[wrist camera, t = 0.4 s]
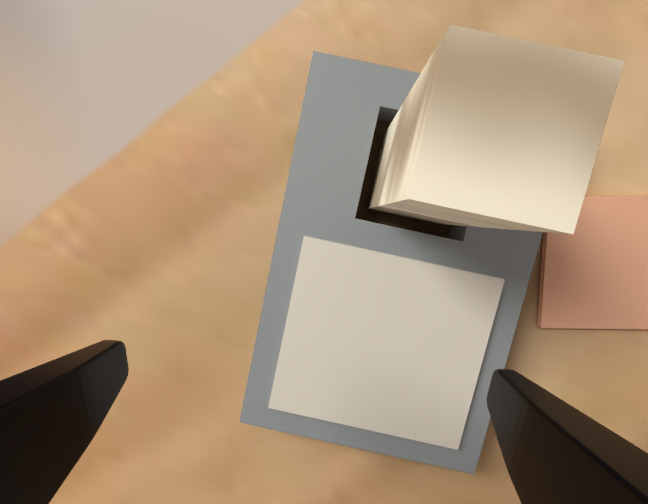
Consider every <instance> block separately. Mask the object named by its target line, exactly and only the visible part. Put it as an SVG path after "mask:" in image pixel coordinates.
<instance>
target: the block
mask: <svg viewBox="0 0 648 504" xmlns="http://www.w3.org/2000/svg"><path fill="white" fill-rule="evenodd" d="M623 64H624V60H619V59H614V58H609V57H605V56H600V55H595V54H590V53H585V52H581V51H576V50H571V49H566V48H562V47H557V46H552V45H547V44H542V43H538V42H533V41H528V40H523V39H518V38H514V37H509V36H504V35H499V34H495V33H490V32H485V31H480V30H475V29H471V28H466V27H461V26H456V25H451V24H450V25H449V27H448V29H447V30H446V32H445V34H444V35H443V37H442V39H441V40H440V42H439V44H438V45H437V47H436V49H435V50H434V52H433V54H432V55H431V57H430V59H429V60H428V62H427V64H426V65H425V67H424V69H423V70H422V72H421V74H420V75H419V77H418V79H417V80H416V82H415V84H414V85H413V87H412V89H411V90H410V92H409V94H408V95H407V97H406V99H405V100H404V102H403V104H402V105H401V107H400V109H399V111H398V112H397V114H396V116H395V117H394V119H393V121H392V122H391V124H390V126H389V127H388V129H387V131H386V132H385V134H384V137H383V142H382V146H381V150H380V155H379V159H378V164H377V168H376V172H375V177H374V181H373V186H372V190H371V195H370V199H369V203H368V208H367V209H371V210H376V211H381V212H385V213H390V214H395V215H399V216H404V217H408V218H413V219H418V220H422V221H427V222H432V223H436V224H444V225H457V226H470V227H484V228H497V229H510V230H523V231H536V232H549V233H562V234H574V231H575V227H576V224H577V220H578V217H579V214H580V210H581V207H582V203H583V200H584V197H585V193H586V190H587V186H588V183H589V180H590V176H591V173H592V169H593V166H594V163H595V159H596V156H597V152H598V149H599V146H600V142H601V139H602V135H603V132H604V129H605V125H606V122H607V118H608V115H609V112H610V108H611V105H612V101H613V98H614V95H615V91H616V88H617V84H618V81H619V78H620V74H621V71H622V67H623Z"/></svg>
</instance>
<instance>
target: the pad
mask: <svg viewBox="0 0 648 504" xmlns="http://www.w3.org/2000/svg"><path fill="white" fill-rule="evenodd" d="M537 326H538V327H540V328H577V329H648V196H585V197H584V200H583V203H582V207H581V210H580V214H579V217H578V220H577V224H576V227H575V231H574V234H562V233H549V232H543V244H542V259H541V274H540V289H539V304H538V319H537Z"/></svg>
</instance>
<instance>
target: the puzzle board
mask: <svg viewBox="0 0 648 504" xmlns="http://www.w3.org/2000/svg"><path fill="white" fill-rule="evenodd" d="M420 74H421V73H416V72H411V71H407V70H402V69H397V68H392V67H388V66H383V65H378V64H373V63H369V62H364V61H359V60H354V59H350V58H345V57H340V56H335V55H331V54H326V53H321V52H316V51H313V56H312V61H311V66H310V71H309V76H308V81H307V86H306V91H305V96H304V101H303V106H302V111H301V116H300V121H299V126H298V131H297V136H296V141H295V146H294V151H293V156H292V161H291V166H290V171H289V176H288V181H287V186H286V191H285V196H284V201H283V206H282V211H281V216H280V221H279V226H278V231H277V236H276V241H275V246H274V252H273V257H272V262H271V267H270V272H269V277H268V282H267V287H266V292H265V297H264V302H263V307H262V312H261V317H260V322H259V327H258V332H257V337H256V342H255V347H254V352H253V357H252V362H251V367H250V372H249V377H248V382H247V387H246V392H245V397H244V402H243V407H242V412H241V417H240V423H245V424H250V425H254V426H259V427H263V428H268V429H272V430H277V431H281V432H286V433H290V434H295V435H299V436H304V437H308V438H313V439H317V440H322V441H326V442H331V443H335V444H340V445H344V446H349V447H353V448H358V449H362V450H367V451H371V452H376V453H380V454H385V455H389V456H394V457H398V458H403V459H407V460H412V461H416V462H421V463H425V464H430V465H434V466H439V467H443V468H448V469H452V470H457V471H461V472H466V473H470V474H475V471H476V467H477V463H478V460H479V456H480V453H481V449H482V446H483V442H484V439H485V435H486V432H487V428H488V425H489V421H490V418H491V417H490V414H489V411H488V407H487V394H488V390H489V386H490V382H491V378H492V374H493V372H494V370H496V369H504V368H505V365H506V361H507V358H508V354H509V351H510V347H511V344H512V340H513V337H514V333H515V329H516V326H517V322H518V319H519V315H520V312H521V308H522V305H523V301H524V298H525V294H526V291H527V287H528V284H529V280H530V277H531V273H532V270H533V266H534V262H535V259H536V255H537V252H538V248H539V245H540V241H541V238H542V234H543V232H536V231H523V230H510V229H497V228H484V227H470V226H457V225H452V226H451V230H450V234H449V238H444V237H439V236H435V235H430V234H426V233H421V232H416V231H412V230H407V229H402V228H398V227H393V226H388V225H384V224H379V223H374V222H370V221H365V220H361V219H356V218H355V216H356V212H357V207H358V203H359V198H360V194H361V189H362V185H363V180H364V176H365V171H366V167H367V163H368V158H369V154H370V149H371V145H372V140H373V136H374V131H375V127H376V122H377V120H380V121H385V122H390V123H391V122H392V121H393V119H394V117H395V116H396V114H397V112H398V111H399V109H400V107H401V105H402V104H403V102H404V100H405V99H406V97H407V95H408V94H409V92H410V90H411V89H412V87H413V85H414V84H415V82H416V80H417V79H418V77H419V75H420Z"/></svg>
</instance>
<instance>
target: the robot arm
mask: <svg viewBox="0 0 648 504" xmlns="http://www.w3.org/2000/svg"><path fill="white" fill-rule="evenodd" d="M127 376H128V362H127V355H126V349H125V345H124V343H123V342H121V341H115V340H103V341H101V342H98V343H96V344H93V345H90V346H88V347H85V348H83V349H80V350H78V351H75V352H73V353H70V354H67V355H65V356H62V357H60V358H57V359H55V360H52V361H49V362H47V363H44V364H42V365H39V366H37V367H34V368H32V369H29V370H26V371H24V372H21V373H19V374H16V375H14V376H11V377H8V378H6V379H3V380H1V381H0V504H49V502H50V501H51V499H52V498H53V496H54V495H55V494H56V492H57V491H58V489H59V488H60V486H61V485H62V483H63V482H64V480H65V479H66V478H67V476H68V475H69V473H70V472H71V470H72V469H73V467H74V466H75V464H76V463H77V462H78V460H79V459H80V457H81V456H82V454H83V453H84V451H85V450H86V448H87V447H88V445H89V444H90V442H91V441H92V439H93V438H94V436H95V434H96V433H97V431H98V429H99V428H100V426H101V424H102V422H103V420H104V419H105V417H106V415H107V413H108V411H109V410H110V408H111V406H112V404H113V403H114V401H115V399H116V397H117V395H118V394H119V392H120V390H121V388H122V386H123V385H124V383H125V381H126V379H127ZM487 407H488V411H489V414H490V417H491V420H492V423H493V426H494V430H495V433H496V436H497V439H498V442H499V445H500V448H501V452H502V455H503V458H504V461H505V464H506V467H507V470H508V472H509V475H510V477H511V480H512V482H513V485H514V487H515V489H516V492H517V494H518V496H519V499H520V501H521V503H522V504H648V453H646V452H645V451H643V450H642V449H640V448H638V447H637V446H635V445H633V444H632V443H630V442H629V441H627V440H625V439H624V438H622V437H621V436H619V435H617V434H616V433H614V432H613V431H611V430H609V429H608V428H606V427H604V426H603V425H601V424H600V423H598V422H596V421H595V420H593V419H592V418H590V417H588V416H587V415H585V414H584V413H582V412H580V411H579V410H577V409H575V408H574V407H572V406H571V405H569V404H567V403H566V402H564V401H563V400H561V399H559V398H558V397H556V396H555V395H553V394H551V393H550V392H548V391H547V390H545V389H543V388H542V387H540V386H538V385H537V384H535V383H534V382H532V381H530V380H529V379H527V378H526V377H524V376H522V375H521V374H519V373H518V372H516V371H514V370H508V369H496V370H494V372H493V374H492V378H491V382H490V386H489V390H488V394H487Z"/></svg>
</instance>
